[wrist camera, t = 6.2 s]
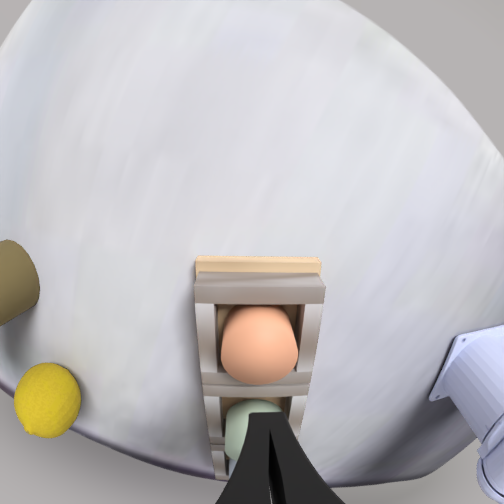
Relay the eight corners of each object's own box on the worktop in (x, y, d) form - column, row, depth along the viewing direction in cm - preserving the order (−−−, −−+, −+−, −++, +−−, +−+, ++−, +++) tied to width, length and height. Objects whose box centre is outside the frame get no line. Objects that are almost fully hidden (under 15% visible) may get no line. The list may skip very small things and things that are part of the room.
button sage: (285, 398, 18) (291, 432, 15) (280, 432, 19) (284, 462, 16) (225, 398, 18) (223, 433, 15) (227, 432, 19) (225, 463, 16)
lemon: (91, 401, 22) (60, 464, 14) (43, 374, 21) (5, 428, 13) (96, 365, 20) (57, 435, 12) (43, 334, 19) (-7, 392, 12)
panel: (197, 255, 17) (189, 274, 15) (317, 257, 18) (330, 276, 15) (215, 458, 24) (214, 481, 21) (285, 458, 24) (288, 480, 22)
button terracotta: (292, 297, 17) (302, 325, 14) (287, 352, 18) (294, 383, 15) (223, 297, 17) (219, 325, 14) (224, 352, 18) (222, 384, 15)
